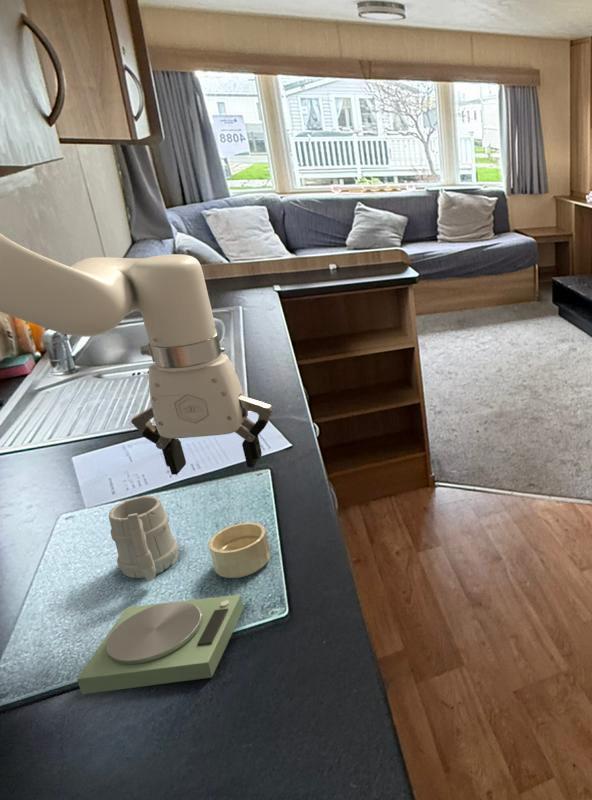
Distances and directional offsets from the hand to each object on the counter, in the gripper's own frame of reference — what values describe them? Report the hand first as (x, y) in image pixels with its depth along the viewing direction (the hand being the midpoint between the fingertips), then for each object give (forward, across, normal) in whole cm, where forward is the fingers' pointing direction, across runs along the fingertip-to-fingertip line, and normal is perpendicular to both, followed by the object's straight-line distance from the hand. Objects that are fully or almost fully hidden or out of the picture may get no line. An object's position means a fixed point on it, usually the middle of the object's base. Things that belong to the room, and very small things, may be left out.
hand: (216, 466), depth 91 cm
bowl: (+17, 0, +1) cm, 17 cm away
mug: (+17, -13, +2) cm, 22 cm away
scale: (+17, -4, -15) cm, 23 cm away
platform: (+15, -5, -15) cm, 22 cm away
